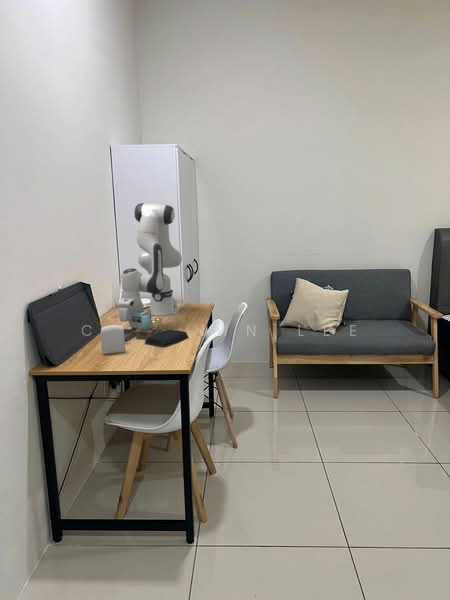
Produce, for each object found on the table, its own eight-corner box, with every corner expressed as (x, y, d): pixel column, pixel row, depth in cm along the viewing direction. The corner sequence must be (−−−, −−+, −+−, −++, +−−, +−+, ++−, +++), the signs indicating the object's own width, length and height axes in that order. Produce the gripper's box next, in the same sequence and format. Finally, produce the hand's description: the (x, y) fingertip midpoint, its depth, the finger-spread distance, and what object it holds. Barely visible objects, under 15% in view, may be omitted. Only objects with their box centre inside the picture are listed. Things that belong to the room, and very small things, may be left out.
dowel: (145, 336, 230) (144, 314, 227) (151, 336, 229) (150, 315, 227) (142, 338, 226) (140, 316, 224) (148, 338, 225) (147, 316, 223)
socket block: (143, 334, 232) (142, 327, 231) (157, 335, 230) (157, 327, 229) (135, 338, 225) (135, 331, 224) (150, 339, 223) (150, 331, 222)
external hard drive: (143, 344, 216) (142, 336, 215) (169, 335, 232) (168, 327, 231) (164, 348, 209) (164, 340, 208) (189, 338, 225) (189, 330, 224)
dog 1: (153, 333, 235) (152, 319, 234) (159, 333, 234) (158, 320, 233) (150, 334, 232) (150, 321, 231) (156, 335, 231) (156, 321, 230)
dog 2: (157, 330, 240) (156, 317, 238) (163, 330, 239) (162, 317, 238) (154, 332, 237) (154, 319, 235) (160, 332, 236) (160, 319, 235)
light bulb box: (142, 334, 233) (142, 313, 231) (130, 332, 235) (130, 312, 233) (151, 329, 243) (151, 309, 241) (140, 327, 245) (140, 307, 243)
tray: (122, 333, 235) (122, 328, 235) (138, 334, 233) (138, 329, 232) (109, 340, 222) (108, 335, 222) (125, 341, 220) (125, 336, 219)
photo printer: (101, 354, 201) (99, 327, 198) (101, 351, 205) (99, 325, 202) (125, 352, 203) (124, 325, 201) (125, 349, 207) (123, 323, 205)
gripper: (135, 296, 247) (136, 321, 249) (116, 303, 227) (117, 330, 230) (145, 297, 245) (146, 322, 247) (127, 304, 226) (129, 331, 228)
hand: (132, 326), depth 238 cm, fingers closed
